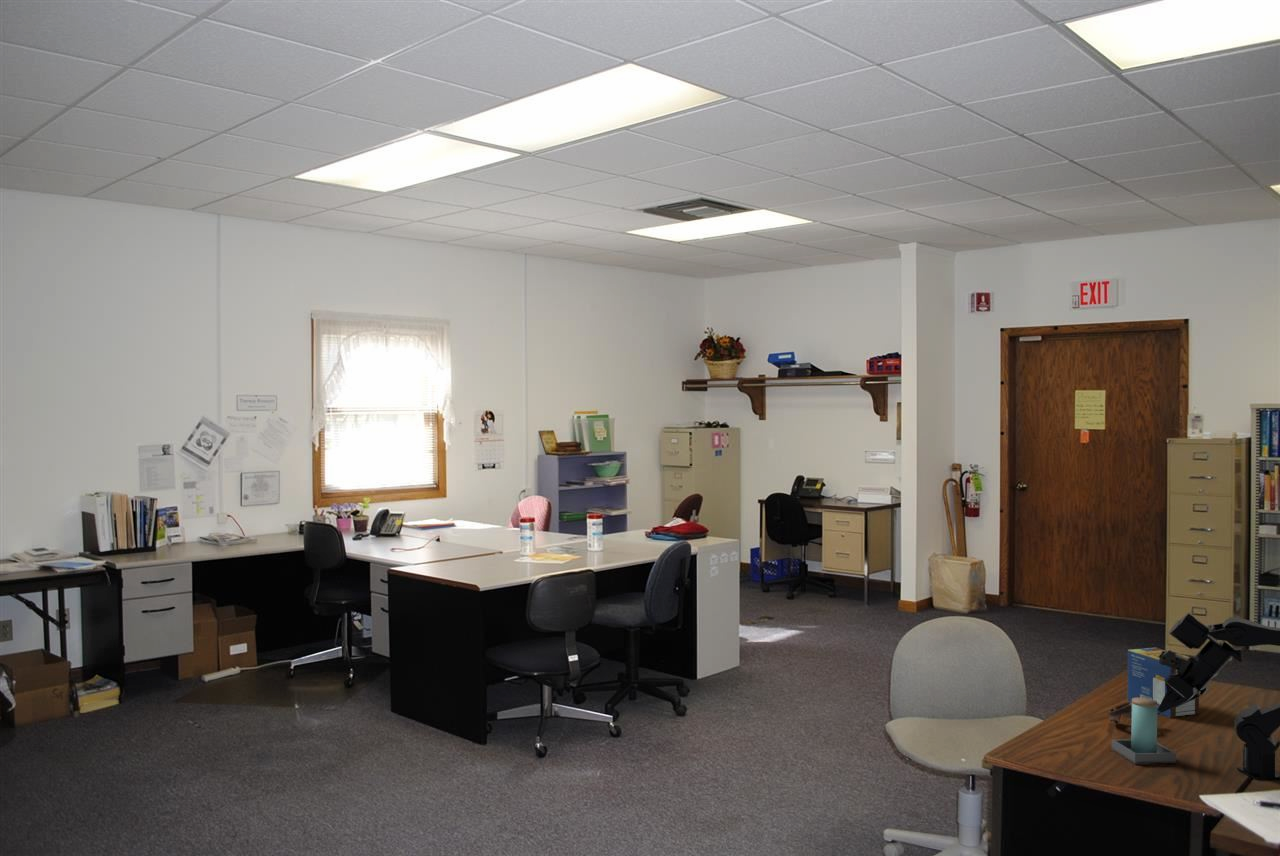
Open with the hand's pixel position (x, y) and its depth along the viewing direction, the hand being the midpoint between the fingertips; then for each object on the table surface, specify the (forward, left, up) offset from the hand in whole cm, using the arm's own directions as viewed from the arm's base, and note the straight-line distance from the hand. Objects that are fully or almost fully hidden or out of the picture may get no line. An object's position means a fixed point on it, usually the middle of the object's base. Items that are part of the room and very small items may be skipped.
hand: (1164, 709), depth 232 cm
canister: (+3, +3, -12) cm, 12 cm away
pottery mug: (+23, -6, -13) cm, 27 cm away
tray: (+3, +4, -12) cm, 13 cm away
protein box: (+40, -24, -12) cm, 48 cm away
